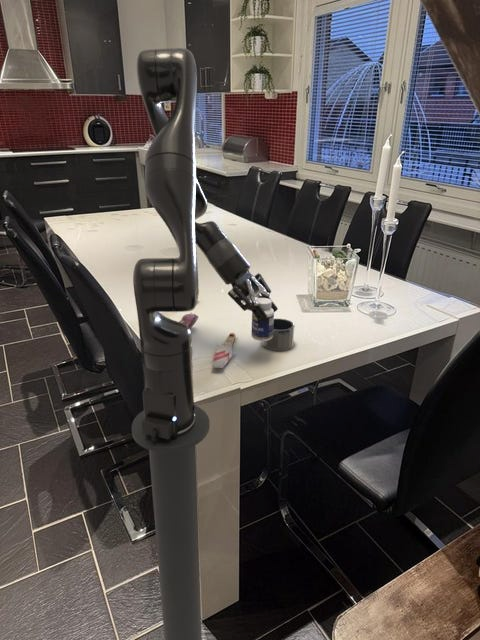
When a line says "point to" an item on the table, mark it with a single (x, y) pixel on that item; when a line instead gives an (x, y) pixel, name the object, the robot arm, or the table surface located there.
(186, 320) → the video game controller
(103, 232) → the table surface
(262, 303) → the pill bottle
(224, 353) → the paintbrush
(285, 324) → the holder
